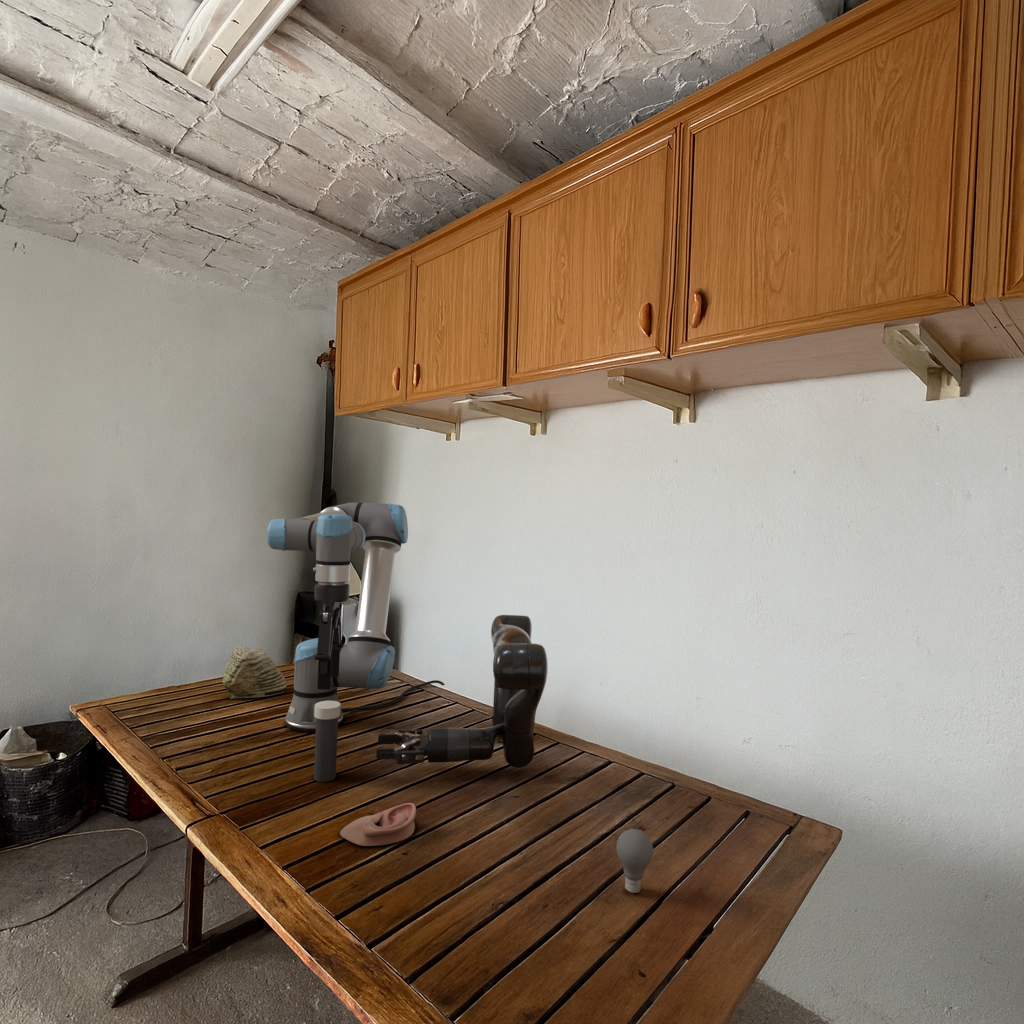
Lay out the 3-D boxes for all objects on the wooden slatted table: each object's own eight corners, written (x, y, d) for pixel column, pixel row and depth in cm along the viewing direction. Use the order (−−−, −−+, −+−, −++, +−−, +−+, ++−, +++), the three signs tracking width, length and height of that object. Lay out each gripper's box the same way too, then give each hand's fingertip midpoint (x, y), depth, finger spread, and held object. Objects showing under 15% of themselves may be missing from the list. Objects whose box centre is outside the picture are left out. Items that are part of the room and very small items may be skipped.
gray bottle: (327, 770, 146) (330, 701, 146) (340, 777, 143) (342, 706, 143) (309, 777, 143) (312, 706, 142) (322, 783, 140) (324, 711, 139)
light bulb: (610, 879, 108) (613, 822, 108) (644, 879, 109) (647, 822, 109) (619, 902, 102) (622, 840, 102) (655, 901, 103) (658, 840, 103)
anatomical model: (332, 820, 116) (360, 792, 128) (332, 841, 116) (359, 811, 128) (400, 830, 114) (422, 801, 125) (400, 852, 114) (421, 821, 125)
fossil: (218, 695, 195) (220, 647, 195) (278, 685, 208) (279, 640, 207) (228, 703, 189) (230, 653, 188) (289, 692, 201) (290, 645, 201)
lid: (330, 709, 147) (330, 699, 147) (345, 715, 143) (345, 704, 143) (309, 715, 142) (309, 704, 142) (324, 721, 139) (324, 710, 139)
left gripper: (325, 576, 153) (321, 669, 153) (303, 589, 131) (299, 697, 132) (356, 577, 153) (353, 669, 154) (340, 590, 132) (336, 697, 132)
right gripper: (446, 718, 154) (379, 719, 152) (451, 740, 140) (376, 742, 138) (445, 748, 155) (377, 750, 152) (449, 774, 141) (375, 776, 138)
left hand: (328, 682), depth 143 cm, fingers open, 9 cm apart
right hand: (377, 746), depth 145 cm, fingers open, 8 cm apart
